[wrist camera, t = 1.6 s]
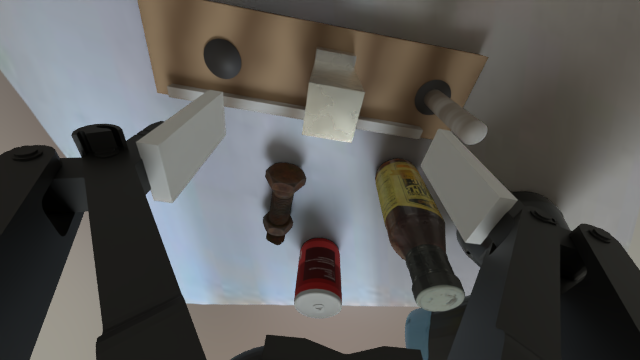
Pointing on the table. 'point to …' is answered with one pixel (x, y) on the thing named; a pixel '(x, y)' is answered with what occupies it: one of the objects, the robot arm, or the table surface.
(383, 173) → the sauce bottle
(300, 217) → the table surface
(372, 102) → the board
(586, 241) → the robot arm
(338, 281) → the canned food
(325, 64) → the block
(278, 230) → the bolt
